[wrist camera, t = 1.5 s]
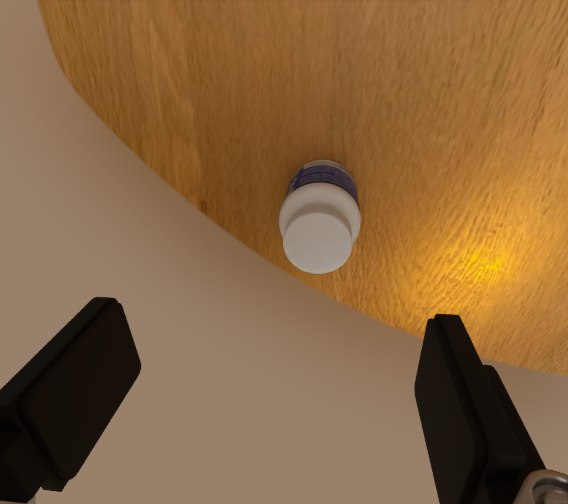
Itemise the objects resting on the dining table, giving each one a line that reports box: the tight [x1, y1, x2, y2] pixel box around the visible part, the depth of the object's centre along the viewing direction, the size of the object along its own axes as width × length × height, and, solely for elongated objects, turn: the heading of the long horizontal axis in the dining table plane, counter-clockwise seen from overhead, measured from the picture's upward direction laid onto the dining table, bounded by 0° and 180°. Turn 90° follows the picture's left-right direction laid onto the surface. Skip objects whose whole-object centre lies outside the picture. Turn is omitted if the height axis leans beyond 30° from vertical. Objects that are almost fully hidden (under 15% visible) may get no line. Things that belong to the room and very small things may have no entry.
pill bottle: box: [279, 160, 361, 274], centre depth 24 cm, size 5×5×9 cm
